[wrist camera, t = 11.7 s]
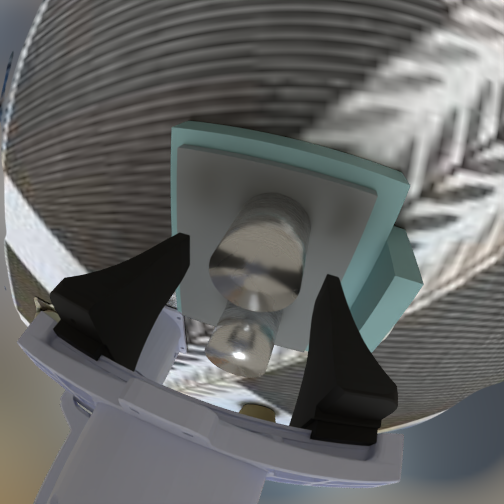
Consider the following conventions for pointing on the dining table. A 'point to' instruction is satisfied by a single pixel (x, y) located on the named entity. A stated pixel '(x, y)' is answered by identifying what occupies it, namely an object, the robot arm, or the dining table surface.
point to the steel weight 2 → (243, 340)
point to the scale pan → (228, 207)
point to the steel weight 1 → (263, 254)
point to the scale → (373, 238)
